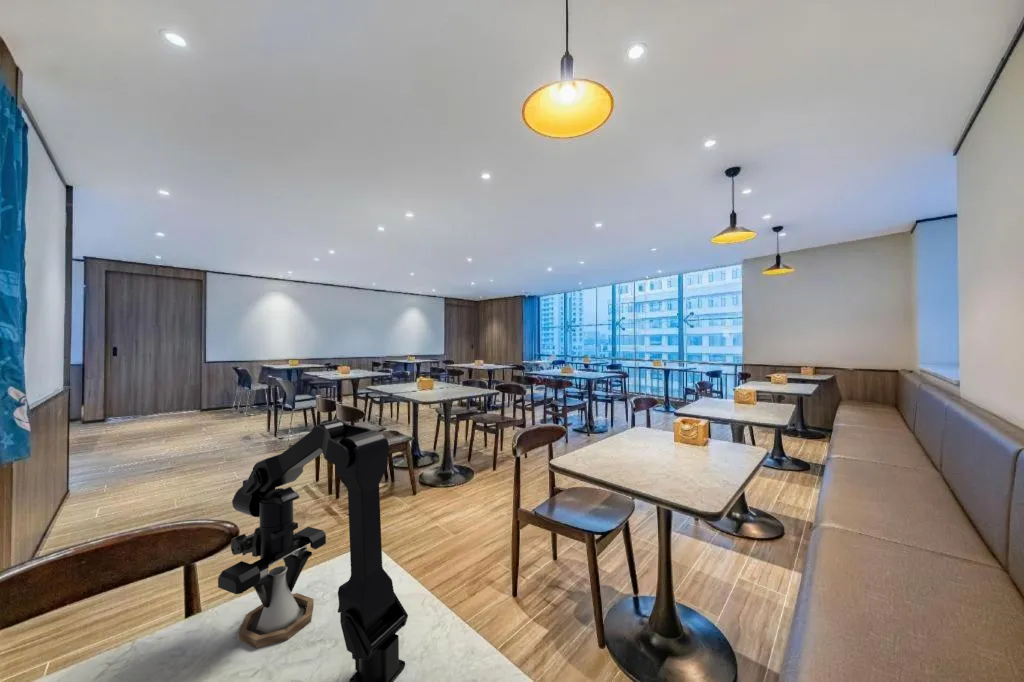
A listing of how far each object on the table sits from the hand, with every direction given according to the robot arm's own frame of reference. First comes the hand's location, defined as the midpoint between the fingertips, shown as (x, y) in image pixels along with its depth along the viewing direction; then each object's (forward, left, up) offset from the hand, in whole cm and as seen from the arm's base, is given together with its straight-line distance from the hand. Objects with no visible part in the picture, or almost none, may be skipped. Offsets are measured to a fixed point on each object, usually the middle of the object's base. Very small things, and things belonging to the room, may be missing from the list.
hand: (278, 599), depth 76 cm
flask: (0, 0, -4) cm, 4 cm away
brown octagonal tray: (0, 0, -4) cm, 4 cm away
